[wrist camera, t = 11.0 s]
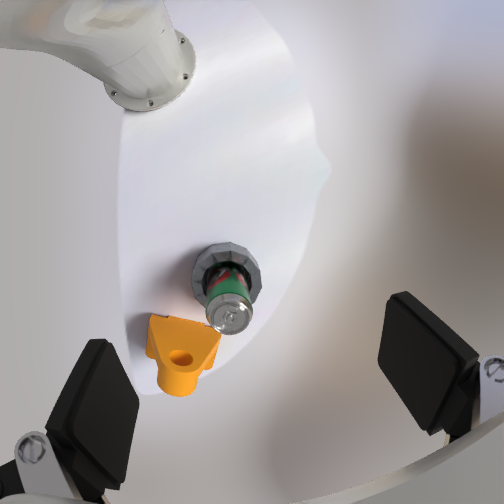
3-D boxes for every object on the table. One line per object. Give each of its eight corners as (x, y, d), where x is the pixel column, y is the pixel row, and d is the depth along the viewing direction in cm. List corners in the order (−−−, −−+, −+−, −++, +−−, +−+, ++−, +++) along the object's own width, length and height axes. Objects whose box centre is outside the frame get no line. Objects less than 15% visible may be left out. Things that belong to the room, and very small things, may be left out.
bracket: (148, 347, 43) (134, 399, 32) (152, 311, 41) (135, 361, 30) (211, 360, 45) (211, 414, 34) (220, 326, 43) (223, 379, 32)
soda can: (204, 284, 41) (200, 332, 29) (213, 252, 39) (212, 291, 28) (238, 292, 42) (245, 341, 30) (248, 261, 40) (260, 303, 29)
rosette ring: (188, 248, 39) (186, 256, 35) (253, 238, 39) (257, 246, 36) (200, 305, 42) (199, 317, 38) (260, 296, 42) (264, 308, 39)
